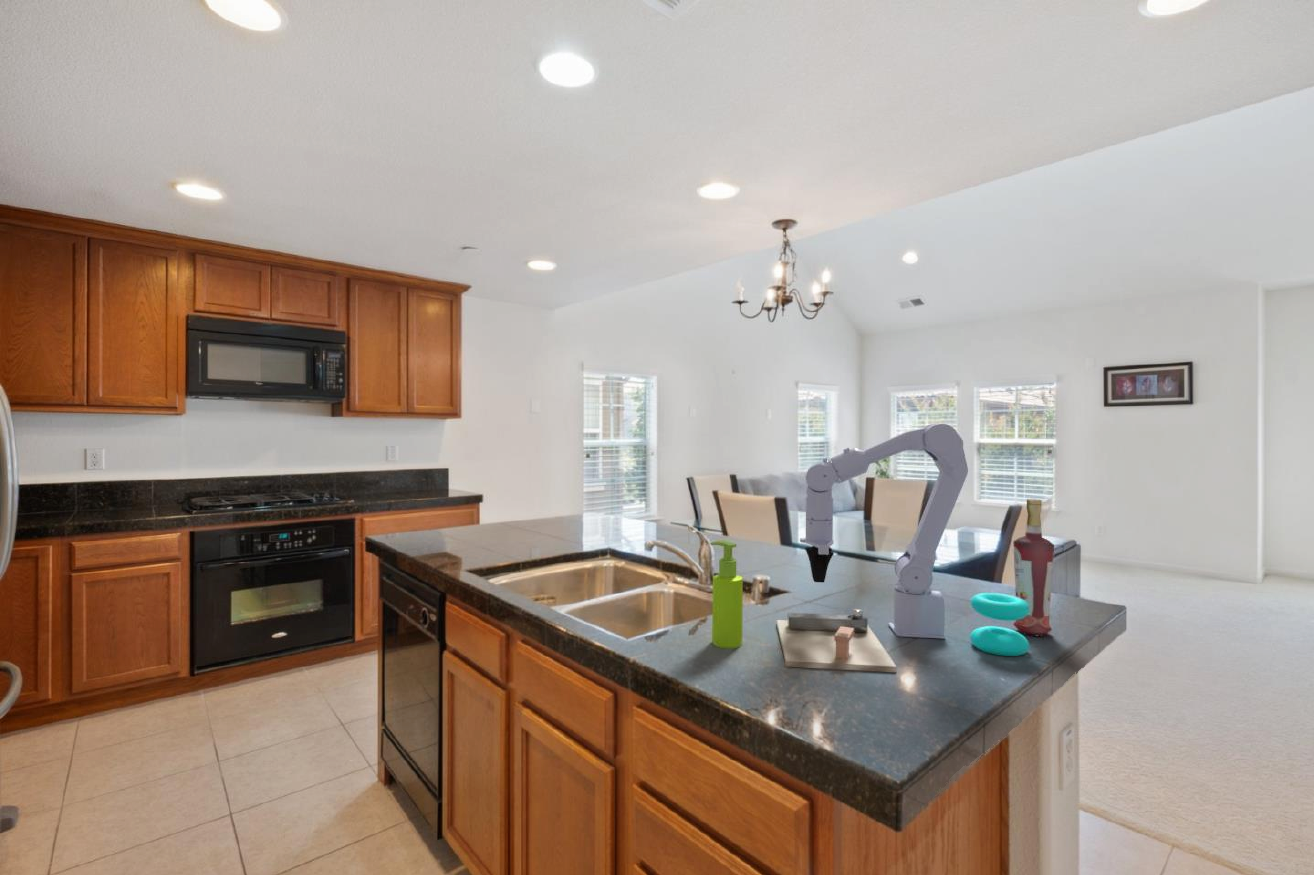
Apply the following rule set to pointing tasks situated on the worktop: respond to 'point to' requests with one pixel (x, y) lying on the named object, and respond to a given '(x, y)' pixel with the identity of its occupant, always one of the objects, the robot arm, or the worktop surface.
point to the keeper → (843, 641)
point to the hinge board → (832, 650)
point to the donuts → (999, 637)
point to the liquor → (1034, 573)
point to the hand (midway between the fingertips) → (818, 581)
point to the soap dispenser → (727, 601)
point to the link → (828, 621)
